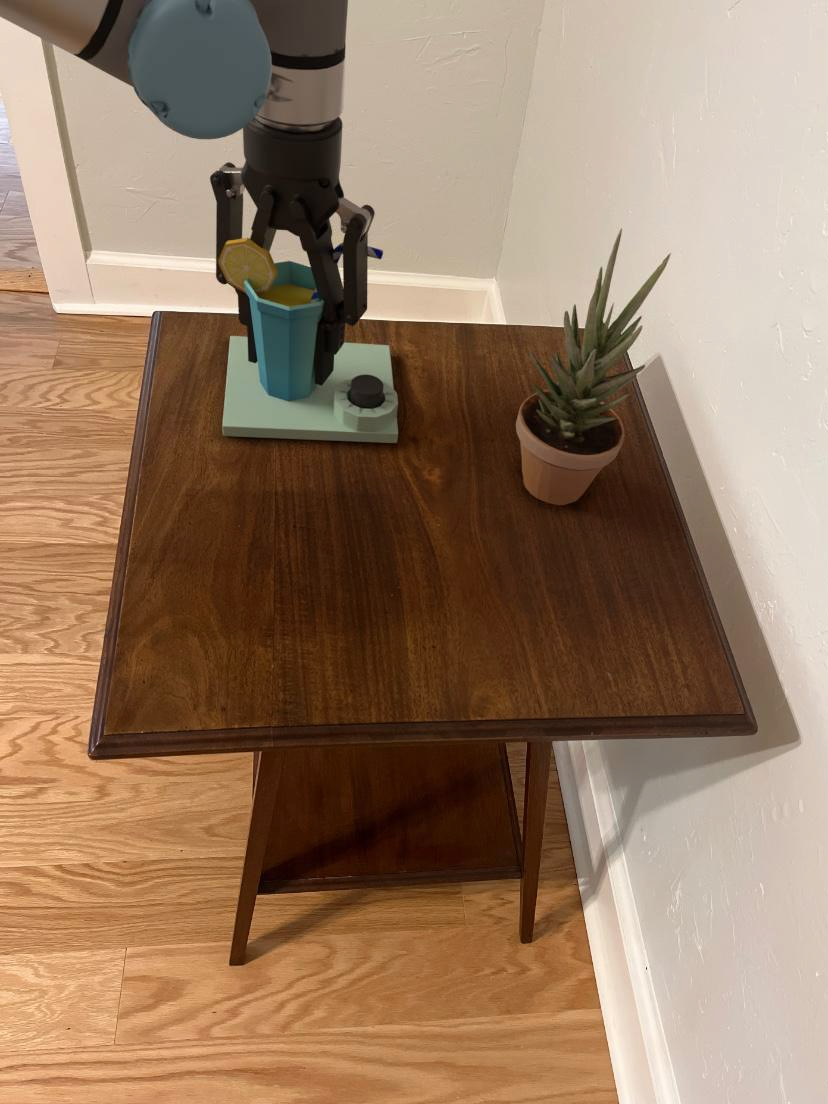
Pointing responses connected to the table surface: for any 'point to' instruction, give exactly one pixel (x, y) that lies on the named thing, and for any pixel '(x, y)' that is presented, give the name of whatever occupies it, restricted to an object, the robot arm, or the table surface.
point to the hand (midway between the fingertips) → (291, 365)
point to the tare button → (366, 391)
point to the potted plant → (580, 399)
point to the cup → (280, 314)
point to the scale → (311, 400)
